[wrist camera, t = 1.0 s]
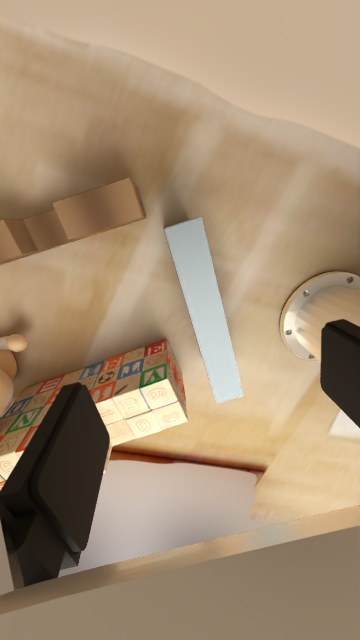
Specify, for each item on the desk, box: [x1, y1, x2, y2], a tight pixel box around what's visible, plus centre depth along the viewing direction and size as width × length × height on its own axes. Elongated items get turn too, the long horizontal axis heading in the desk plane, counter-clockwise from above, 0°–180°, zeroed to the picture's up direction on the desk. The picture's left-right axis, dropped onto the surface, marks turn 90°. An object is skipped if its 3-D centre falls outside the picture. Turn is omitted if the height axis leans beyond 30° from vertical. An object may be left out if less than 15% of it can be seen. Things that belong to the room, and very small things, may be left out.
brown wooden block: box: [0, 177, 146, 265], centre depth 23 cm, size 18×3×6 cm, turn 106°
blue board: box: [164, 217, 244, 404], centre depth 26 cm, size 18×3×9 cm, turn 16°
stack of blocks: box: [0, 340, 188, 490], centre depth 28 cm, size 21×6×12 cm, turn 109°
